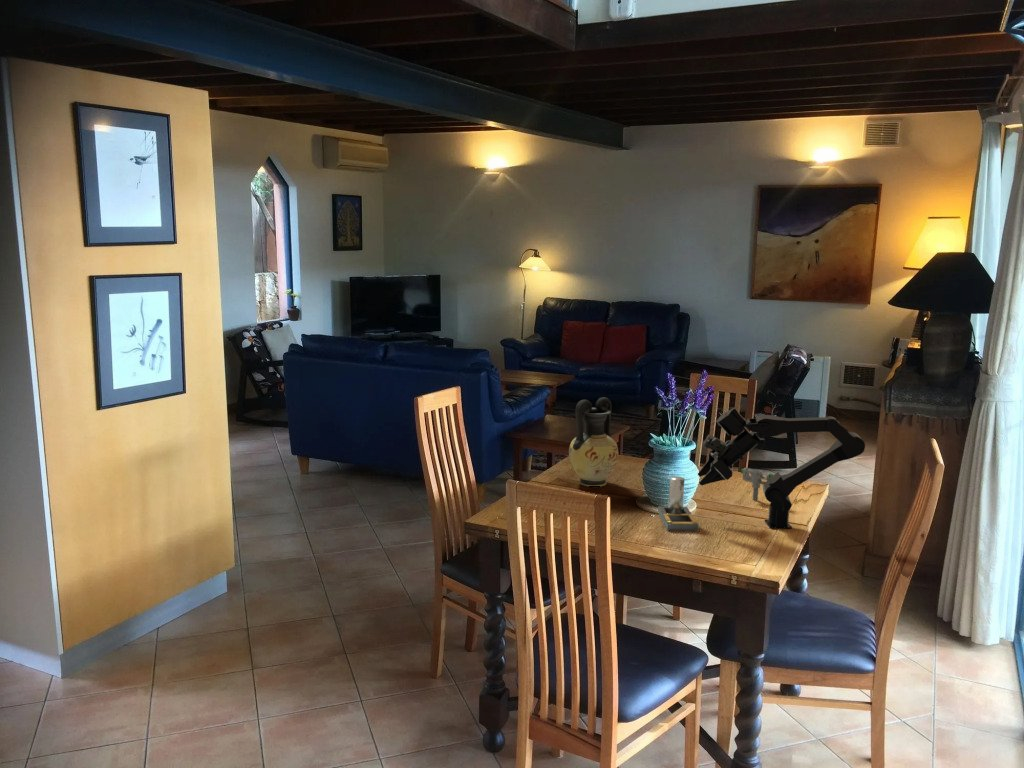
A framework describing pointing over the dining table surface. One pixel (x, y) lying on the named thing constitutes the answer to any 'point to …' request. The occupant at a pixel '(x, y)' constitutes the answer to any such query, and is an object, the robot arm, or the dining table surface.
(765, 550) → the dining table surface
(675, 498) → the steel peg
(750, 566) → the dining table surface
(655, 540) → the dining table surface
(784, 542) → the dining table surface
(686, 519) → the grey tray
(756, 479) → the mechanical component
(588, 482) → the amphora
